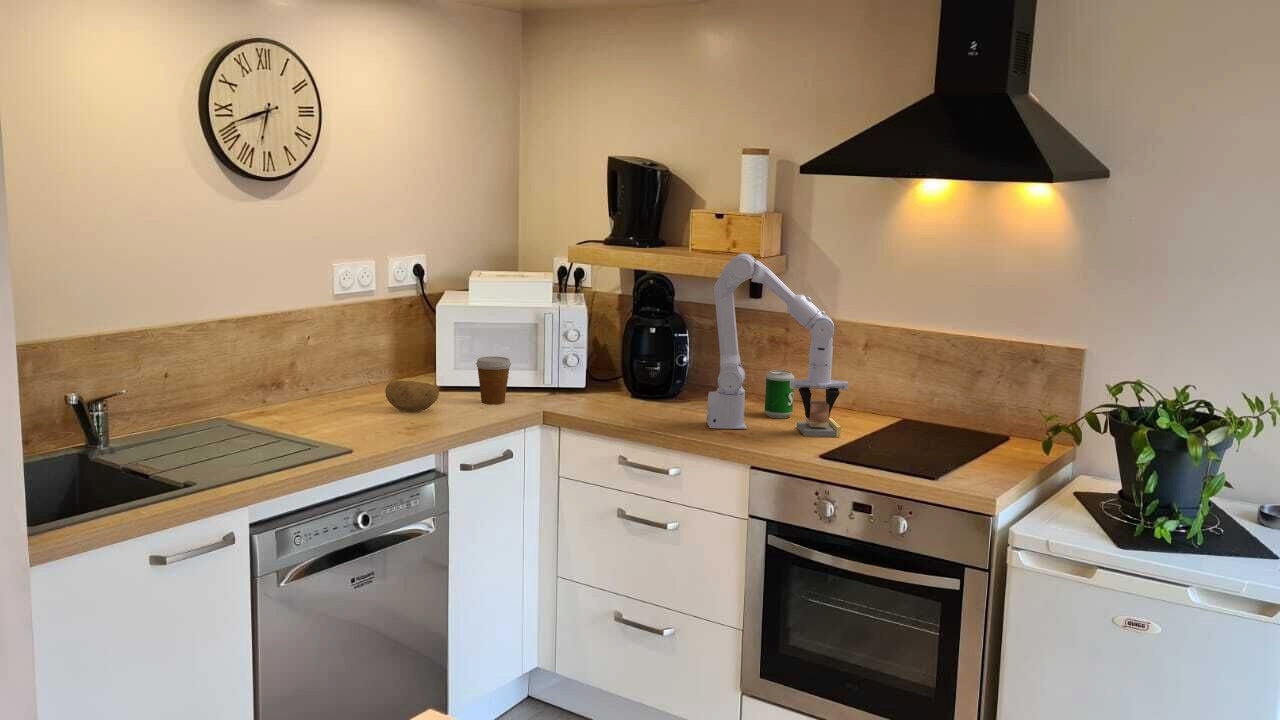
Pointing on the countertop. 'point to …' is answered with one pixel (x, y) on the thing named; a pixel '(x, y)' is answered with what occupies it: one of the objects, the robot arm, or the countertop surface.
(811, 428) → the dock
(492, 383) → the disposable coffee cup
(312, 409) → the countertop surface
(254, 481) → the countertop surface
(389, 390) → the potato
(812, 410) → the brown rectangular block
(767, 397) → the soda can
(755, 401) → the countertop surface
